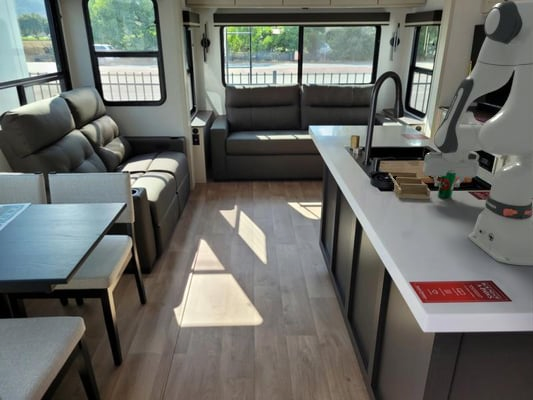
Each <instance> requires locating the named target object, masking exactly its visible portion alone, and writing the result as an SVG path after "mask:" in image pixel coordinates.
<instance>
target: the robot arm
mask: <svg viewBox="0 0 533 400" xmlns="http://www.w3.org/2000/svg"><path fill="white" fill-rule="evenodd" d="M483 30H484V34H485V36H486V37H485V39H484V41H483V43H482V46H481V48H480V51H479V54H478V57H477V59H476V63H475V65H474V67H473V69H472V70H471V72H470V73H469V74H468V76H467V77H466V78H464V79H463V80H462V81H461V82H460V83H459V85H458V87H457V89H456V91H455V92H454V95H453V98H452V100H451V102H450V104H449V106H448V109H447V111H446V114H445V116H444V118H443V120H442V122H441V124H440V125H439V127H438V128H437V130H436V132H435V134H434V136H433V137H434V139H433V142H434V145H435V147H436V148H437V149H438V151H439V152H434V151H432V152H431V151H429V152H428V153H426V154H425V156H424V160H423V161H424V163H423V166H422V174H423V175H424V176H427V177H429V176H433V180H434V181H433V182H434V187H439V186H440V181H439V180H438V179H439V178H438V177H439V176H446V173H447V172H448V171H449V170H455V173H456V174H455V178H457V177H458V179H457V180H456V181H455V182H454V188H459V187H460V184H461V183H462V182H463V181H464V179H465V178H476V176H477V175H478V173H479V166H480V162H479V158H480V155H479V154H478V153H477V152H478V151H484V152H485V153H490V154H493V155H498V156H509V157H510V156H516V157H514V159H512V161H510V162H508V163H507V164H505V165H503V166H501V167H500V168H498V169H497V170H496V171H495V173H494V176H493V180H492V183H491V188H490V191H489V193H488V195H487V197H486V200H485V205H484V206H485V208H484V209H483V210H482V211H481V212H480V213H479V214H478V215H477V220H476V222H475V225H474V227H473V231H472V232H470V233H469V234H468V236H467V238H468V239H469V240H470V241H471V242H473V243H474V244H475V245H476V246H478V247H479V248H480V249H482V251H484V252H485V253H486V254H488V256H490V257H491V258H492V259H494V260H495V261H496V262H499V263H503V264H508V265H515V266H533V220H532V217H533V0H517V1H512V0H506V1H501V2H498V3H496V4H494V5H493V6H492V7H491V9H490V10H489V11H488V13H487V15H486V17H485V18H484V25H483ZM514 69H515V70H514ZM513 72H514V73H513ZM513 74H514V75H513ZM512 75H513V78H512V79H513V80H512V85H511V88H510V92H509V95H508V97H507V100H506V101H505V103H504V105H503V106H502V107H501V109H500V110H499V111H498V112H497V113H496V114H495V115H493V117H491V118H489V119H488V120H486V121H485V122H484V123H483V124H482V123H481V122H479V121H478V120H477V119H476V118H475V116H474V113H473V111H470V110H467V109H468V108H469V106H470V105H471V103H473V102H474V101H475V100H476V99H477V98H479V97H481V96H483V95H486V94H488V93H492V92H494V91H497V90H499V89H500V88H502V87H503V86H505V85H506V84H507V83H508V82H509V80H510V78H511V77H512Z"/></svg>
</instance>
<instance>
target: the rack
mask: <svg viewBox="0 0 533 400" xmlns="http://www.w3.org/2000/svg"><path fill="white" fill-rule="evenodd" d="M388 175H389V176H390V178H391V179H392V181H393V183H394V190H393V192H394V193H395V196H396V197H397V198H398V199H413V200H414V199H415V200H417V199H418V200H430V195H431V190H430V189H429V187H428V183H427V184H426V183H425V182H424V181H423V178H422V177H420V176H419V175H418V173H417V172H416V171H397V170H396V171H391V173H390V172H389V173H388ZM388 175H387V176H388ZM393 176H397V177H396V180H395V179H394V178H393Z"/></svg>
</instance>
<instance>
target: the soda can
mask: <svg viewBox="0 0 533 400" xmlns="http://www.w3.org/2000/svg"><path fill="white" fill-rule="evenodd" d="M455 174H456V173H455V170H449V171H448V172H447V173H446V176H441V178H440V181H439V182H440V186H438V193H437V196H438V197H439V198H440V199H444V200H445V199H446V200H447V199H448V200H449V199H451V198H452V197H453V196H452V195H453V191H454V188H455V186H454V182H456V177H455Z"/></svg>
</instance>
